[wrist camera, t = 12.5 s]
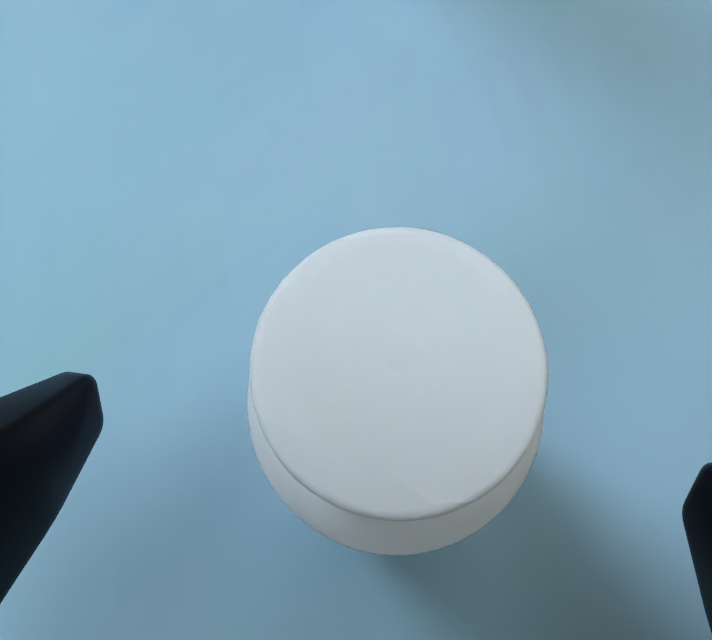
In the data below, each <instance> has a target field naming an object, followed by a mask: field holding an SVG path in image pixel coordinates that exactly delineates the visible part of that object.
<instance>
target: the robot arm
mask: <svg viewBox="0 0 712 640" xmlns="http://www.w3.org/2000/svg"><path fill="white" fill-rule="evenodd" d="M102 426H103V413H102V408H101V402H100V397H99V392H98V387H97V383H96V380H95V379H94V377H92V376H91V375H88V374H81V373H74V372H64V373H61V374H58V375H56V376H53V377H51V378H48V379H46V380H43V381H41V382H38V383H35V384H33V385H30V386H28V387H25V388H23V389H20V390H18V391H15V392H13V393H10V394H8V395H5V396H3V397H0V603H1V602H2V600H3V599H4V597H5V596H6V594H7V593H8V591H9V590H10V588H11V587H12V585H13V584H14V582H15V580H16V579H17V577H18V576H19V574H20V573H21V571H22V570H23V568H24V567H25V565H26V564H27V562H28V561H29V559H30V558H31V556H32V555H33V553H34V551H35V550H36V548H37V547H38V545H39V544H40V542H41V541H42V539H43V538H44V536H45V535H46V533H47V531H48V530H49V528H50V527H51V525H52V523H53V522H54V520H55V519H56V517H57V515H58V513H59V511H60V510H61V508H62V506H63V504H64V502H65V500H66V498H67V497H68V495H69V493H70V491H71V489H72V487H73V485H74V483H75V481H76V479H77V477H78V475H79V473H80V471H81V470H82V468H83V466H84V464H85V462H86V460H87V458H88V456H89V454H90V452H91V450H92V448H93V446H94V444H95V442H96V441H97V439H98V437H99V435H100V432H101V430H102ZM682 517H683V523H684V527H685V531H686V535H687V539H688V543H689V547H690V552H691V556H692V560H693V564H694V568H695V572H696V576H697V580H698V584H699V588H700V592H701V596H702V600H703V604H704V608H705V612H706V615H707V619H708V623H709V626H710V629H711V632H712V463H707V464H706V465H704V466H703V467H702V469H701V470H700V472H699V474H698V476H697V478H696V480H695V482H694V484H693V486H692V488H691V490H690V492H689V494H688V496H687V498H686V500H685V502H684V505H683V510H682Z"/></svg>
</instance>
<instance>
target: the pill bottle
mask: <svg viewBox="0 0 712 640" xmlns="http://www.w3.org/2000/svg"><path fill="white" fill-rule="evenodd" d="M547 386H548V364H547V355H546V350H545V346H544V342H543V338H542V334H541V330H540V327H539V325H538V322H537V319H536V317H535V315H534V313H533V311H532V309H531V307H530V305H529V303H528V302H527V300H526V298H525V297H524V295H523V294H522V292H521V291H520V289H519V288H518V287H517V285H516V284H515V283H514V282H513V281H512V279H511V278H510V277H509V276H508V275H507V274H506V273H505V272H504V271H503V270H502V269H501V268H500V267H499V266H497V265H496V264H495V263H494V262H493V261H492V260H491V259H489V258H488V257H487V256H485V255H484V254H482V253H480V252H479V251H477V250H476V249H474V248H472V247H471V246H469V245H467V244H465V243H463V242H461V241H459V240H456V239H454V238H452V237H449V236H446V235H444V234H440V233H437V232H433V231H430V230H424V229H417V228H408V227H389V228H379V229H372V230H365V231H361V232H357V233H353V234H351V235H348V236H345V237H342V238H340V239H337V240H335V241H333V242H331V243H329V244H327V245H325V246H324V247H322V248H320V249H318V250H316V251H315V252H313V253H312V254H310V255H309V256H308V257H306V258H305V259H304V260H303V261H302V262H300V263H299V264H298V265H297V266H296V267H295V268H294V269H293V270H292V271H291V272H290V273H289V274H288V275H287V276H286V277H285V278H284V279H283V280H282V281H281V283H280V284H279V285H278V287H277V288H276V290H275V291H274V293H273V294H272V296H271V297H270V299H269V301H268V303H267V305H266V307H265V308H264V310H263V313H262V315H261V317H260V319H259V321H258V324H257V328H256V330H255V334H254V338H253V343H252V348H251V355H250V369H249V386H248V399H247V411H248V422H249V429H250V434H251V439H252V443H253V446H254V449H255V452H256V455H257V458H258V461H259V463H260V465H261V467H262V469H263V471H264V474H265V476H266V478H267V479H268V481H269V483H270V484H271V486H272V488H273V489H274V491H275V492H276V493H277V495H278V496H279V497H280V499H281V500H282V501H283V502H284V503H285V505H286V506H287V507H288V508H289V509H290V510H291V511H292V512H293V513H294V514H295V515H296V516H297V517H299V518H300V519H301V520H302V521H303V522H305V523H306V524H307V525H309V526H310V527H311V528H313V529H314V530H316V531H317V532H319V533H320V534H322V535H324V536H326V537H328V538H330V539H332V540H333V541H335V542H337V543H340V544H342V545H345V546H347V547H350V548H353V549H357V550H360V551H365V552H370V553H375V554H383V555H412V554H419V553H425V552H430V551H434V550H437V549H441V548H444V547H447V546H449V545H451V544H454V543H456V542H458V541H461V540H462V539H464V538H466V537H468V536H469V535H471V534H473V533H475V532H476V531H478V530H479V529H481V528H482V527H484V526H485V525H487V524H488V523H489V522H490V521H491V520H492V519H493V518H495V517H496V516H497V515H498V514H499V513H500V512H501V511H502V510H503V509H504V508H505V507H506V506H507V505H508V504H509V502H510V501H511V500H512V498H513V497H514V496H515V494H516V493H517V492H518V490H519V489H520V487H521V486H522V484H523V482H524V481H525V479H526V477H527V475H528V473H529V471H530V469H531V466H532V464H533V461H534V459H535V456H536V453H537V450H538V446H539V442H540V438H541V432H542V424H543V412H544V407H545V402H546V396H547Z"/></svg>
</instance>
